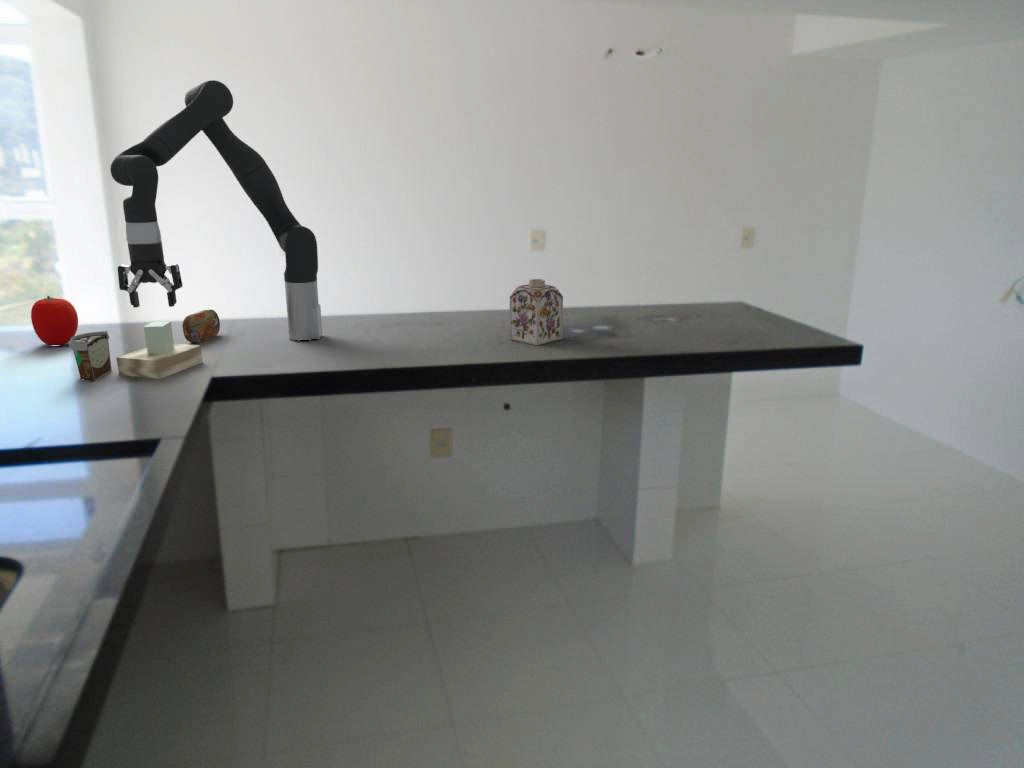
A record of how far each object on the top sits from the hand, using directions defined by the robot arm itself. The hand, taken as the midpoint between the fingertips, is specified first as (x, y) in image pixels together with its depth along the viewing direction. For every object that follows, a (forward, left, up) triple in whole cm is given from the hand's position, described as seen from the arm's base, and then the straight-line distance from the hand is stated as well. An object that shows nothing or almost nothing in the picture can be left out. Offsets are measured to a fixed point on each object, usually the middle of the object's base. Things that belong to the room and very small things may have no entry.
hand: (154, 306), depth 184 cm
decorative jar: (-99, -26, -16) cm, 104 cm away
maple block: (0, 0, -17) cm, 17 cm away
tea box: (0, 0, -12) cm, 12 cm away
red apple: (+39, -28, -16) cm, 51 cm away
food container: (+15, +6, -16) cm, 23 cm away
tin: (0, -32, -16) cm, 36 cm away
